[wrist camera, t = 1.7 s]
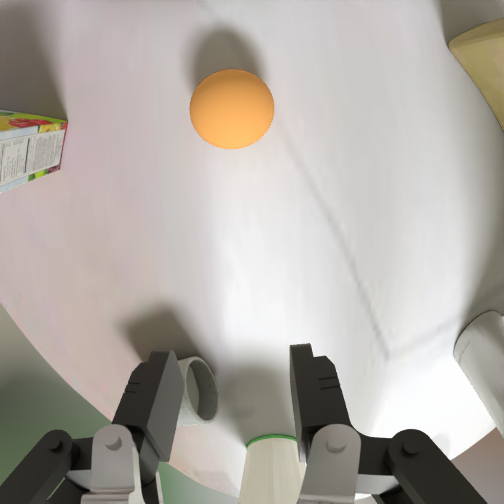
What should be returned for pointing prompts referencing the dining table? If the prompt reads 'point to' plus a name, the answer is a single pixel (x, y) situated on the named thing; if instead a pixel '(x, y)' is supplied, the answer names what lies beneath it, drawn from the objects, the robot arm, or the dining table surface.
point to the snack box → (28, 147)
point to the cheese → (484, 61)
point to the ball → (231, 109)
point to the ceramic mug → (198, 393)
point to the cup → (272, 471)
